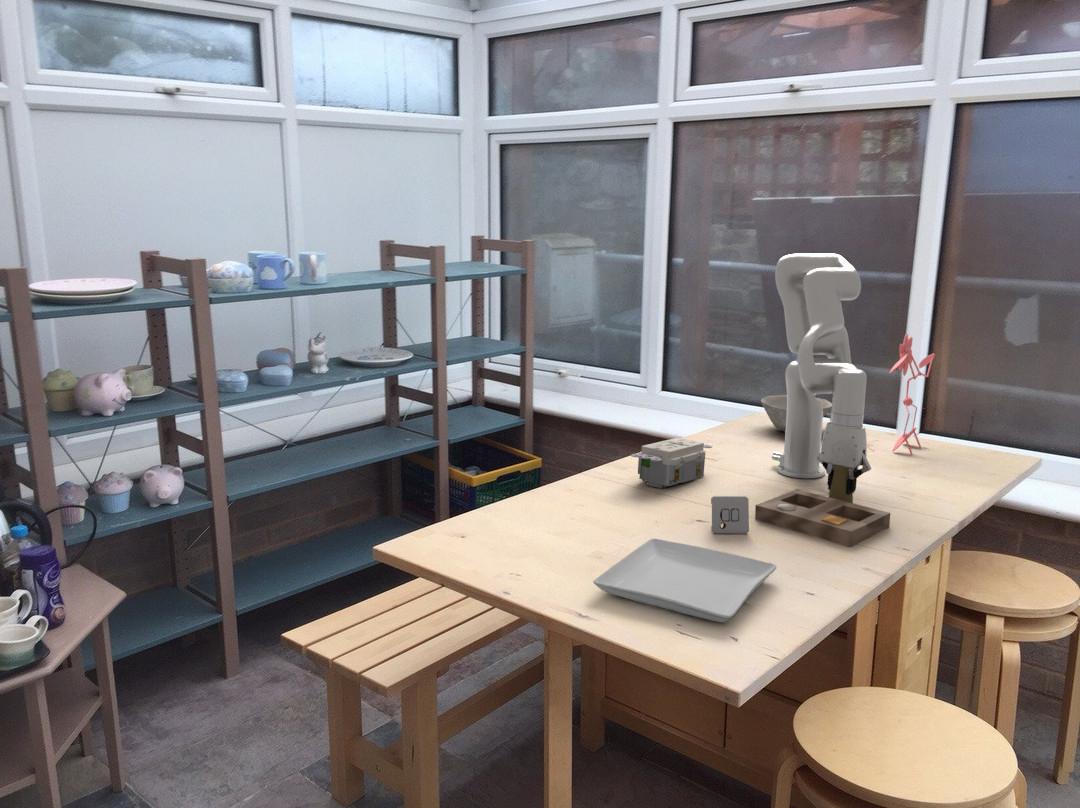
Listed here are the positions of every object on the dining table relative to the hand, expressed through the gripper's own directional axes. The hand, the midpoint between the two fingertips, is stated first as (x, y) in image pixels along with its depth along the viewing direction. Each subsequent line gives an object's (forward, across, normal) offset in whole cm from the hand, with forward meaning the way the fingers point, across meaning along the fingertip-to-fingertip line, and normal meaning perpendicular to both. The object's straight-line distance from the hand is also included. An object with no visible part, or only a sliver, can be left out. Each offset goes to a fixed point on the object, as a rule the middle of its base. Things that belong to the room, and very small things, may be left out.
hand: (841, 490), depth 225 cm
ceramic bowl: (+3, -46, +55) cm, 72 cm away
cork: (+3, 0, 0) cm, 3 cm away
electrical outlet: (+3, -40, -16) cm, 43 cm away
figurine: (+3, -15, +60) cm, 62 cm away
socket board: (+3, +5, -18) cm, 19 cm away
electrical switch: (+3, -7, -38) cm, 39 cm away
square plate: (+4, +6, -70) cm, 70 cm away
